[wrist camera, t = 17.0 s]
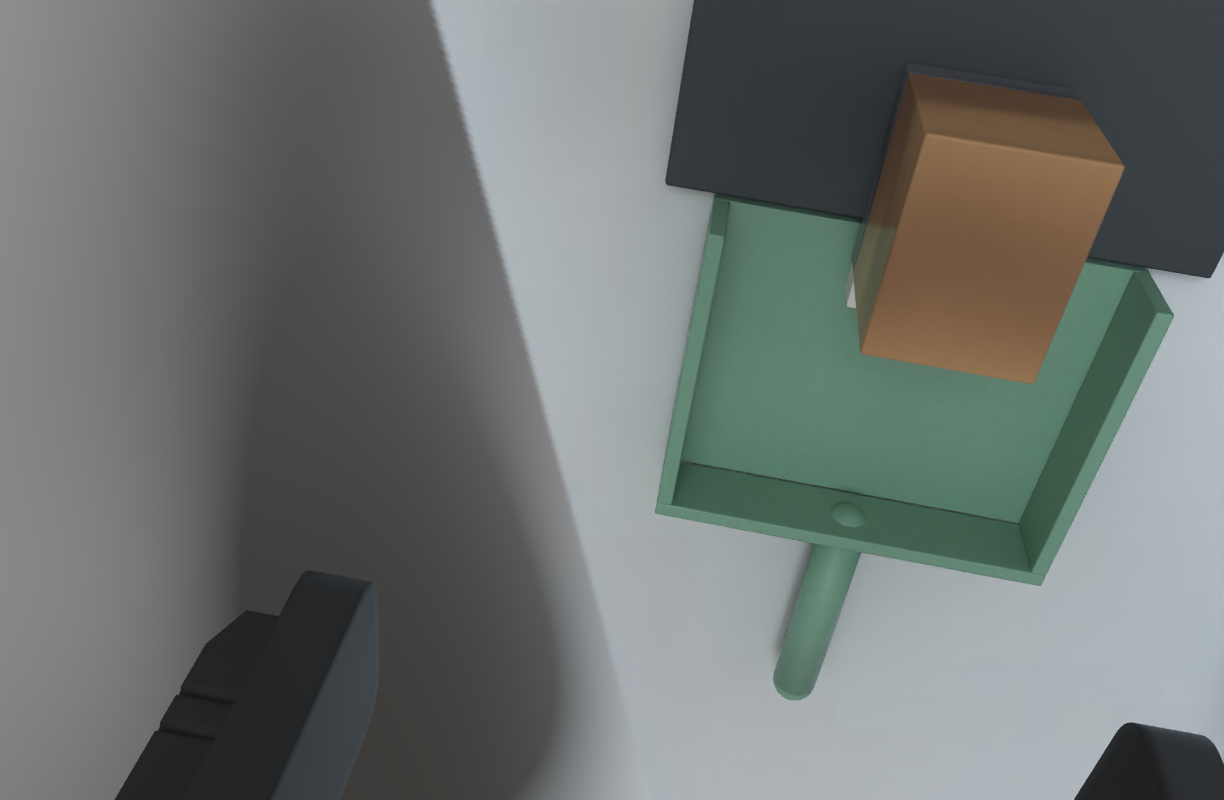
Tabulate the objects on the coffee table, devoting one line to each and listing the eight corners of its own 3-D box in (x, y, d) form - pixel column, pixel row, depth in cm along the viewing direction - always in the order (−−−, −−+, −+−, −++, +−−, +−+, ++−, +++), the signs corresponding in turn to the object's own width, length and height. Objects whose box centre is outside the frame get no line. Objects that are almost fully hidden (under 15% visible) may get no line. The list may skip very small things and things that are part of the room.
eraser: (905, 60, 28) (926, 132, 24) (1075, 88, 28) (1127, 166, 24) (850, 259, 32) (859, 355, 27) (1001, 285, 32) (1034, 385, 27)
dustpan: (714, 193, 32) (707, 233, 30) (1147, 267, 31) (1175, 315, 29) (631, 629, 43) (622, 685, 41) (950, 691, 43) (959, 751, 40)
